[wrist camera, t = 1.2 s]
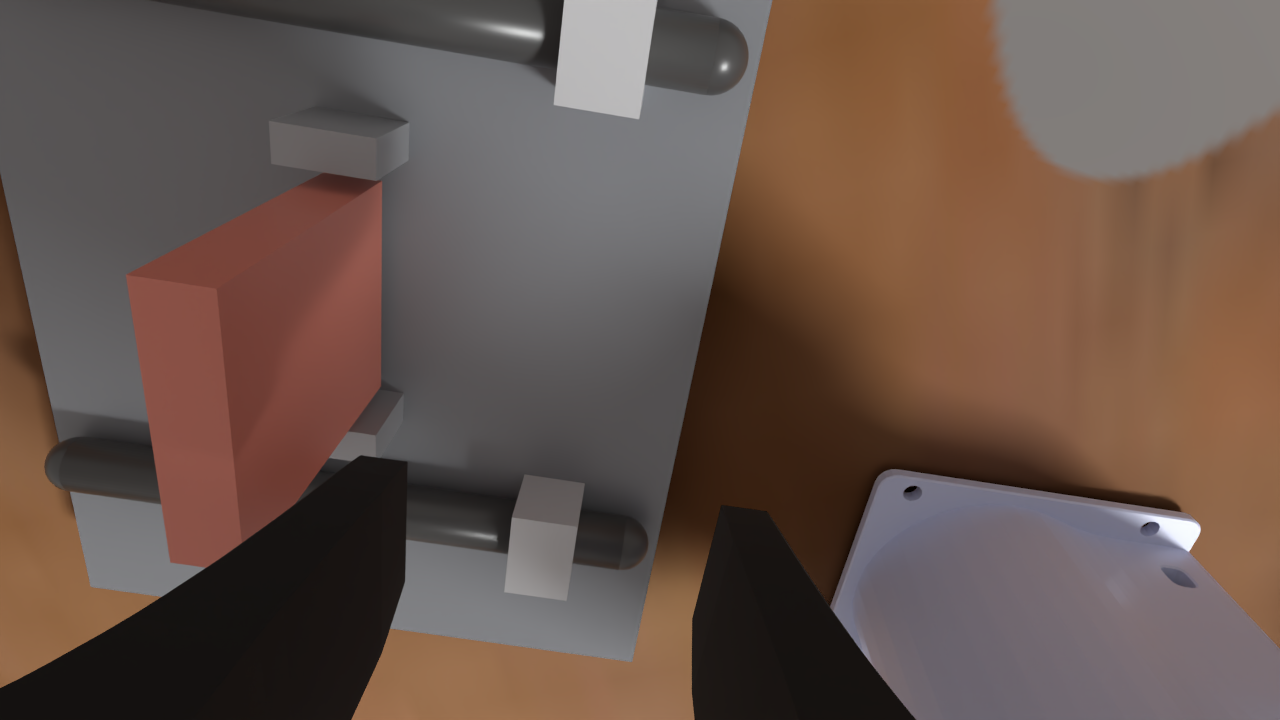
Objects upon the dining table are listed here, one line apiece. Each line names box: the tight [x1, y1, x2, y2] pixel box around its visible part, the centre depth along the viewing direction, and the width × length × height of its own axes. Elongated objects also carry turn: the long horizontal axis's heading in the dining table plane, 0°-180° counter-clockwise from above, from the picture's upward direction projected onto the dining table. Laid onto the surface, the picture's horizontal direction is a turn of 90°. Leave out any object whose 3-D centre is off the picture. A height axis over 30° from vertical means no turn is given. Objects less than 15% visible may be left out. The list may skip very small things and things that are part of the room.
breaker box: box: [0, 0, 772, 662], centre depth 17 cm, size 16×22×4 cm
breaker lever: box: [126, 172, 382, 568], centre depth 14 cm, size 1×5×6 cm, turn 171°
